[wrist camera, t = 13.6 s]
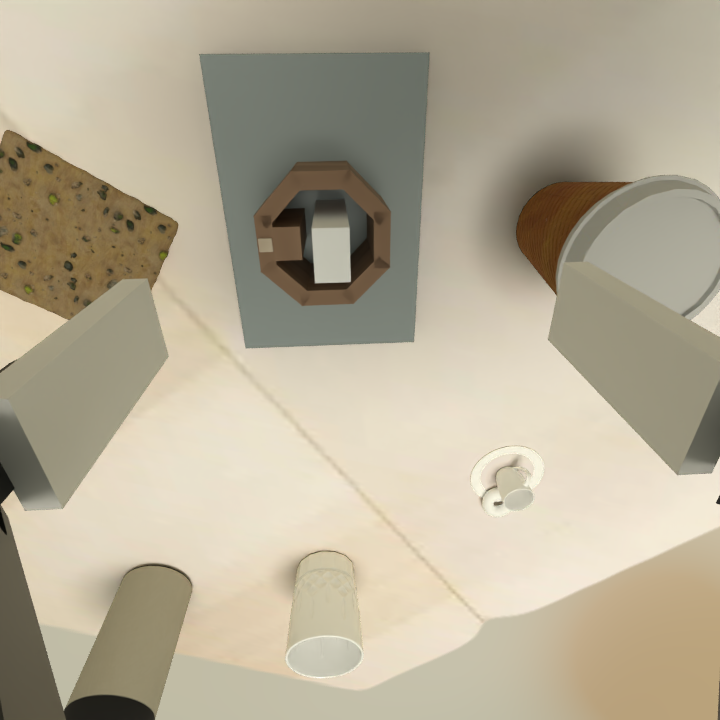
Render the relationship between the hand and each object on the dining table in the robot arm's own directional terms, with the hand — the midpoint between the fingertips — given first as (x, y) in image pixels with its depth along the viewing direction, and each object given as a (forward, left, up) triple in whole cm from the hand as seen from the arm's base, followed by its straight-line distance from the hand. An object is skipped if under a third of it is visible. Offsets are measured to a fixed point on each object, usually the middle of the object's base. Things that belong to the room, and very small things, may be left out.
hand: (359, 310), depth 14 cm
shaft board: (+1, +1, -21) cm, 21 cm away
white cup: (+3, +42, -21) cm, 47 cm away
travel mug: (+23, +43, -21) cm, 53 cm away
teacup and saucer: (-14, +29, -22) cm, 39 cm away
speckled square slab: (+20, +3, -22) cm, 30 cm away
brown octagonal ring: (+1, +1, -19) cm, 19 cm away
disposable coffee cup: (-17, +2, -21) cm, 27 cm away
